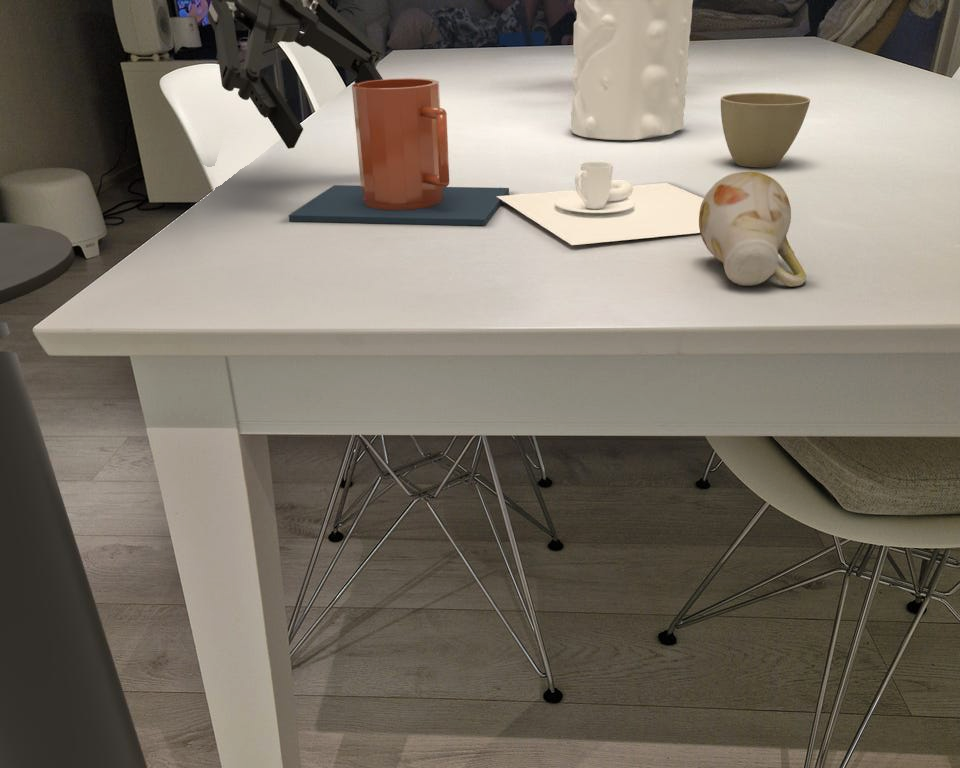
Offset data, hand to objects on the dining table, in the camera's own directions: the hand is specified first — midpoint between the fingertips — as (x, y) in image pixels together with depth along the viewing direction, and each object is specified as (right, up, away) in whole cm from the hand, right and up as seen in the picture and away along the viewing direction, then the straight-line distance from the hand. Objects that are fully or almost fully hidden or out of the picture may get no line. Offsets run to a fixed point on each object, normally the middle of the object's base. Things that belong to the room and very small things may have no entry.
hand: (347, 130), depth 96 cm
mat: (+6, -8, 0) cm, 10 cm away
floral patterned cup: (+35, -22, -23) cm, 48 cm away
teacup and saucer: (+28, -11, -5) cm, 31 cm away
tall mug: (+7, -8, -2) cm, 11 cm away
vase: (+35, +15, +35) cm, 51 cm away
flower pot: (+47, +2, +14) cm, 49 cm away
